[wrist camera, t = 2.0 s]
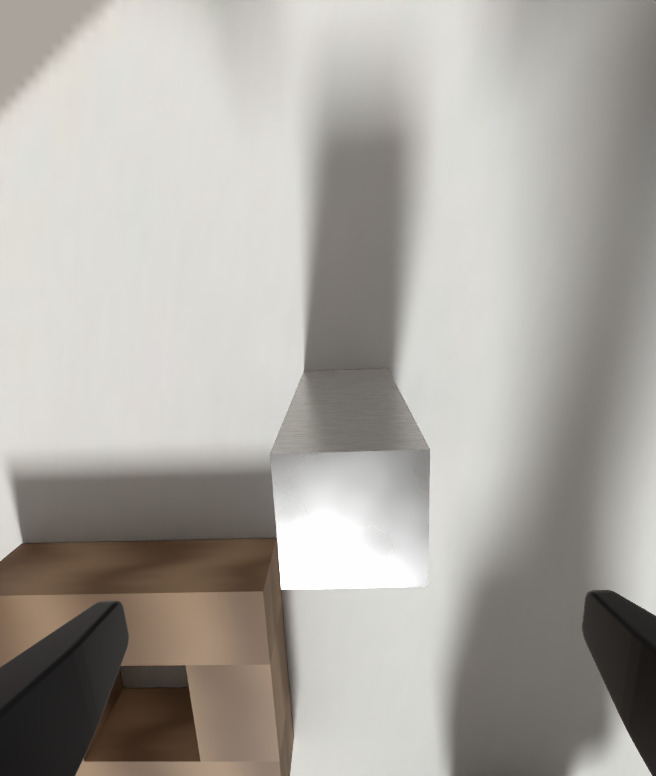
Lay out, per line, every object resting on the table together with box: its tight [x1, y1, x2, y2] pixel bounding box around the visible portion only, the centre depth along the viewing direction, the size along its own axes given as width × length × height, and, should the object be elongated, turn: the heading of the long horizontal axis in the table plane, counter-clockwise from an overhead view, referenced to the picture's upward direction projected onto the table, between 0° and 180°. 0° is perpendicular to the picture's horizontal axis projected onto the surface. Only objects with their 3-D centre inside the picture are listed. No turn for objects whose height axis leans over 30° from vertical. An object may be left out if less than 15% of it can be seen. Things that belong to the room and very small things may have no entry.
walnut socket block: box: [0, 538, 294, 776], centre depth 23 cm, size 14×14×4 cm
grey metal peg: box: [270, 368, 430, 589], centre depth 16 cm, size 4×4×10 cm
